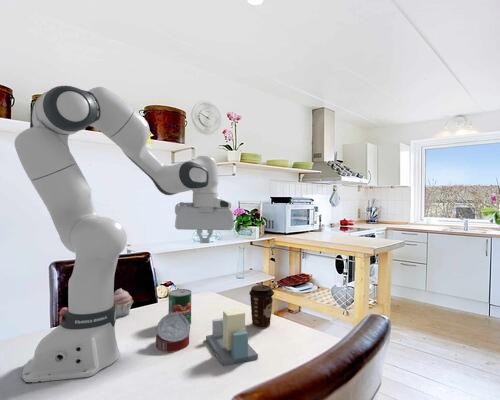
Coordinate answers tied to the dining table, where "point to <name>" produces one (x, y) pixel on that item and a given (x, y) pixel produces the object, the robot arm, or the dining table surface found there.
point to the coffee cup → (261, 305)
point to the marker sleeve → (232, 324)
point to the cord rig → (238, 345)
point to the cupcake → (122, 302)
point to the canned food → (172, 332)
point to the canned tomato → (180, 302)
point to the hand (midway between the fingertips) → (204, 243)
